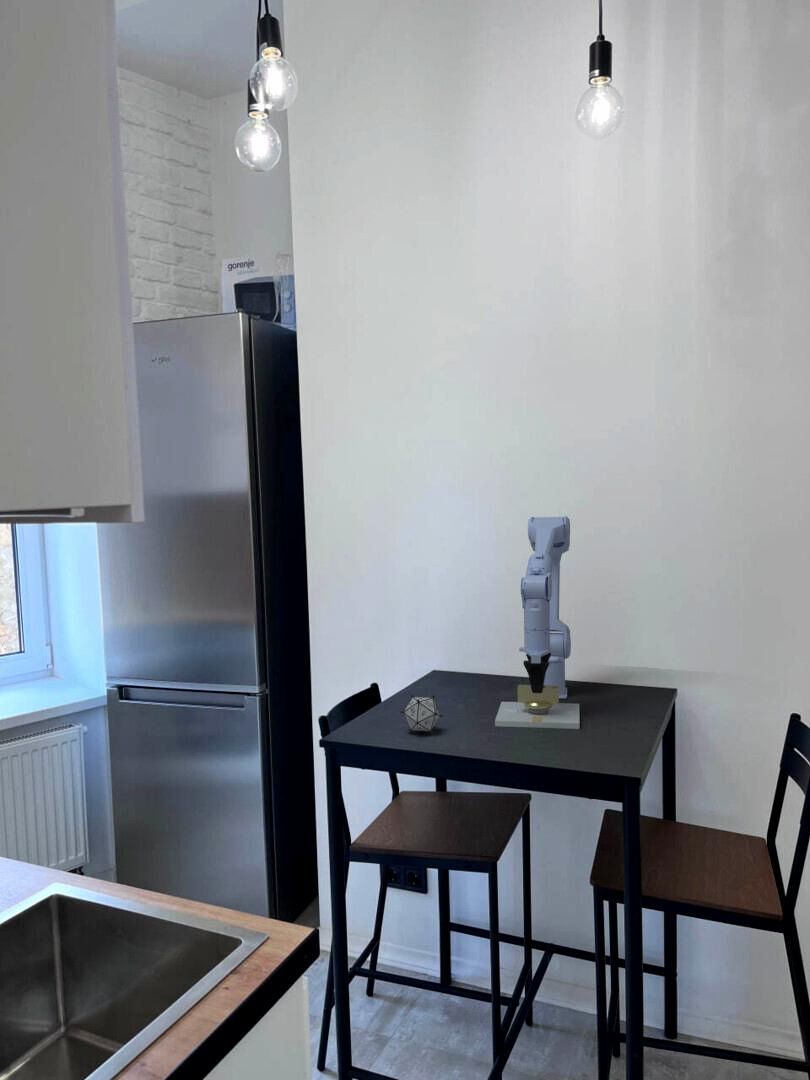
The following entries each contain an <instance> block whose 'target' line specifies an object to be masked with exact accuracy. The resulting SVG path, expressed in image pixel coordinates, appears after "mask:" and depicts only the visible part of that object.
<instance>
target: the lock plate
mask: <svg viewBox="0 0 810 1080" xmlns="http://www.w3.org/2000/svg"><path fill="white" fill-rule="evenodd" d="M580 722H581V721H580V703H572V702H571V703H565V702H563V703H560V702H559V704H553V707H551V708H548V709H530V708H527V707H525V706H524V703H518V701H501V702H500V705H499V708H498V711H497V714H496V717H495V720H494V726H495V727H506V728H507V727H510V728H513V727H514V728H539V729H540V728H541V729H567V730H568V729H569V730H570V729H573V730H575V729H576V730H580V727H581V726H580Z"/></svg>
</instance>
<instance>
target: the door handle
mask: <svg viewBox="0 0 810 1080" xmlns="http://www.w3.org/2000/svg"><path fill="white" fill-rule="evenodd" d="M559 700H560V699H559V685H543V691H542V693H532V690H531V685H530V684H518V685H517V702H518V703H524V706H525V707H527V708H530V709H548V708H551V707H553V704H559V703H560V701H559Z"/></svg>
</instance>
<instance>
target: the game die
mask: <svg viewBox="0 0 810 1080" xmlns="http://www.w3.org/2000/svg"><path fill="white" fill-rule="evenodd" d="M410 696H411V699H410V701H409V703H408V704H407V705H406V707H405V709H404V710H400V711H399V713H400V714H403V715H404V718H405V721H406V722H407V724H408V727H409V730H408V734H411V732H415V731H416V732H429V733H430V735H431V736H433V735H434V732H433V731H432V730H433V728H434V727H435V726H436V723H438V721H439V719H440V718H444V715H443V714H440V712H439V709H438V707H437V704H436V703H435V700H434V699H435V697H436V694H432V696H431V697H428V696H427V697H425V696H423V697H422V696H414V694H413V693H410Z"/></svg>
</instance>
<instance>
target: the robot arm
mask: <svg viewBox="0 0 810 1080" xmlns="http://www.w3.org/2000/svg"><path fill="white" fill-rule="evenodd" d="M570 521H571V520H570V518H569V517H568V516H551V517H550V516H549V517H548V516H546V517H545V516H544V517H543V516H541V517H539V516H537V517H534V516H530V518H529V519H528V522H527V536H528V540H529V543H530V547H531V548H532V551H533V552H534V553H533V554H532V555H530V556H529V559H528V562H527V568H526V573H525V576H524V577H521V579H520V597H521V605H522V609H523V631H524V632H523V635H524V638H523V639H524V642H523V645H524V646H520V647H519V648H518V651H519V653H520V652H523V653H525V654H526V655H525V656H526V658H527V660H523V667H524V669H525V670H526V672H527V675H528V678H529V679H528V680H529V685H531V690H532V693H542V691H543V685H559V700H560V699H561V700H563V699H567V698H568V687H566V660H567V659H569V657H570V656H571V650H572V648H571V646H572V645H571V644H572V643H571V642H572V640H571V629H570V627H569V626H568V625H567V624H566V623H565V622H563V621H562V620H560V589H561V586H560V584H561V582H560V579H561V577H560V576H561V575H560V574H561V572H560V571H561V560H562V556H563V554H564V553H567V552H569V550H570V546H571V545H570V544H571V522H570Z"/></svg>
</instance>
